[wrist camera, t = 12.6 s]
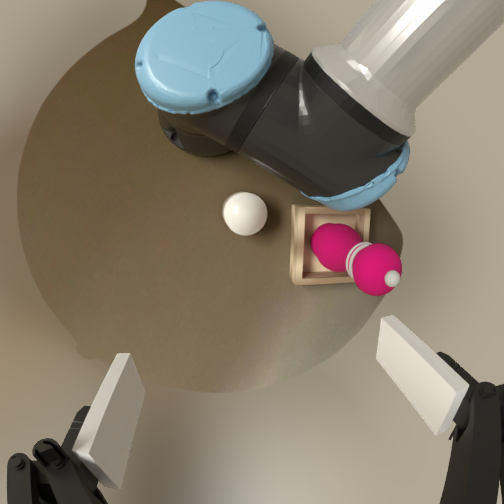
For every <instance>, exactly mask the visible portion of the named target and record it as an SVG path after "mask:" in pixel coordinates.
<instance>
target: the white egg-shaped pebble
mask: <svg viewBox="0 0 504 504" xmlns="http://www.w3.org/2000/svg"><path fill="white" fill-rule="evenodd" d="M222 216H223V219H224V221H225V222H226V224H227V225H228V226H229V228H230V229H231V230H232V231H233V232H235V233H237V234H240V235H252V234H254V233H256V232H258V231H259V230H260V229H261V228H262V227H263V226H264V224H265V222H266V219H267V208H266V205H265V203H264V202H263V200H262V199H261V198H260V197H258V196H256V195H254V194H251V193H248V192H244V191H239V192H235V193H233V194H231V195H230V196H228V197H227V199H226V200H225V201H224V203H223V206H222Z"/></svg>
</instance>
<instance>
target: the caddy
mask: <svg viewBox="0 0 504 504" xmlns="http://www.w3.org/2000/svg"><path fill="white" fill-rule="evenodd" d="M370 213H371V209H369V208H365V207H363V208H360V209H357V210H354V211H346V212H343V211H336V210H333V209H330V208H328V207H327V206H325V205H300V204H292V223H291V253H290V278H291V280H292V281H293V283H294V284H295V285H314V284H331V283H347V282H355V281H354V279H353V278H351V277H350V276H349V274H348V272H347V271H346V272H334V271H331V270H329V269H327V268H325V267H324V266H323V265H322V264H321V263H320V262H319V260H318V258H317V257H316V256H315V255H314V253H313V251H312V249H311V237H312V234H313V233H314V231H315V230H316V229H317V228H318V227H319V226H320V225H322V224H325V223H333V224H337V223H341V224H346V225H348V226H350V227H352V228H353V229H354V230H355V231H356V232H357V233H358V234H359V236H360V238H361V240H362V242H368V240H369V228H370Z"/></svg>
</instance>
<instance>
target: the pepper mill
mask: <svg viewBox="0 0 504 504" xmlns="http://www.w3.org/2000/svg"><path fill="white" fill-rule="evenodd" d="M311 249H312V251H313V253H314V255H315V256H316V257H317V258H318V260H319V262H320V263H321V264H322V265H323V266H324V267H325V268H327V269H329V270H331V271H334V272H346V271H347V272H348V274H349V276H350V277H351V278H353V279H354V281H355V283H356V285H357V287H358V288H359V289H360V290H362V291H363V292H365V293H366V294H369V295H372V296H381V295H384V294H387V293H388V292H390V291H391V290H393V288H394V287H395V286H397V285H398V284H399V282H400V279H401V278H400V277H401V273H402V264H401V260H400V258H399V256H398V254H397V253H396V252H395V250H393V249H392V248H391V247H389V246H388V245H385V244H381V243H375V244H372V243H370V242H362V240H361V238H360V236H359V234H358V233H357V232H356V231H355V230H354V229H353V228H352V227H350V226H348V225H346V224H341V223H337V224H333V223H325V224H322V225H320V226H319V227H318V228H317V229H316V230H315V231H314V233H313V234H312V237H311Z"/></svg>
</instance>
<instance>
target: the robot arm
mask: <svg viewBox="0 0 504 504" xmlns="http://www.w3.org/2000/svg"><path fill="white" fill-rule="evenodd" d="M503 23H504V0H376V1H375V2H374V3H373V4H372V5H371V7H370V8H369V9H368V10H367V11H366V13H365V14H364V15H363V16H362V17H361V19H360V20H359V21H358V22H357V23H356V25H355V26H354V27H353V28H352V29H351V31H350V32H349V33H348V35H347V36H346V37H345V38H344V39H343V41H342V42H340V43H339V44H337V45H327V46H318V47H315V48H314V49H313V50H312V52H311V53H310V55H309V56H308V57H307V59H306V60H305V61H304V60H302V59H299V58H298V57H296V56H295V55H293V54H291V53H290V52H288V51H286V50H284V49H283V48H281V47H279V46H277V45H275V44H274V42H273V39H272V36H271V34H270V32H269V31H268V30H267V28H266V24H265V22H264V21H263V20H262V19H261V18H260V17H259V16H258V15H257V14H255V13H254V12H253V11H251V10H249V9H248V8H246V7H243V6H241V5H238V4H234V3H230V2H224V1H204V2H198V3H194V4H193V5H192V6H189V7H185V8H178V9H176V10H174V11H172V12H170V13H169V14H167V15H166V16H164V17H163V18H161V19H160V20H159V21H158V22H156V23H155V24H154V25H153V26H152V27H151V28H150V30H149V31H148V32H147V33H146V35H145V36H144V38H143V39H142V41H141V43H140V45H139V48H138V50H137V54H136V59H135V70H136V76H137V79H138V82H139V84H140V86H141V89H142V92H143V93H144V95H145V97H147V99H148V101H149V102H150V103H152V104H153V105H154V106H155V107H157V108H158V116H159V121H160V125H161V127H162V130H163V132H164V133H165V135H166V136H167V138H168V139H169V140H170V141H171V142H172V143H173V144H175V145H176V146H177V147H178V148H180V149H181V150H183V151H185V152H187V153H190V154H193V155H198V156H216V155H221V154H224V153H227V152H229V151H231V150H234V151H235V152H238V154H240V155H241V156H243V157H245V158H247V159H248V160H250V161H252V162H254V163H255V164H257V165H259V166H260V167H262V168H264V169H265V170H267V171H269V172H270V173H272V174H274V175H275V176H277V177H279V178H280V179H282V180H284V181H285V182H287V183H288V184H290V185H292V186H293V187H295V188H296V189H298V190H299V191H300V192H301V193H302V194H303V195H304V196H306V197H309V198H310V199H313V200H317V201H318V202H320V203H322V204H323V205H325V206H327V207H328V208H330V209H333V210H336V211H343V212H346V211H354V210H357V209H360V208H363V207H365V206H367V205H369V204H371V203H373V202H375V201H376V200H378V199H379V198H380V197H382V196H383V195H384V194H385V193H386V192H387V191H389V190H390V189H391V188H392V186H393V185H394V184H395V183H396V181H397V179H396V176H397V175H398V174H401V173H403V171H404V170H405V168H406V165H407V163H408V160H409V154H410V147H409V143H408V141H407V140H408V139H409V138H410V137H411V136H412V135H413V134H414V133H415V110H416V107H417V106H419V105H420V104H421V103H422V102H423V101H424V100H425V99H426V98H427V97H428V96H429V95H430V94H431V93H432V92H433V91H434V90H435V89H436V88H437V87H438V86H439V85H440V84H441V83H442V82H444V80H446V79H447V78H448V77H449V76H450V75H451V74H452V73H453V72H454V71H455V70H456V69H457V68H458V67H459V66H460V65H461V64H462V63H463V62H464V61H465V60H466V59H467V58H468V57H469V56H470V55H471V54H472V53H473V52H474V51H475V50H476V49H477V48H478V47H479V46H480V45H481V44H483V42H485V41H486V40H487V39H488V38H489V37H490V36H491V35H492V33H494V32H495V31H496V30H497V29H498V28H499V27H500V26H501V25H502V24H503ZM239 149H240V150H239ZM376 359H377V361H378V362H379V363H380V364H381V366H382V367H383V368H384V369H385V371H386V372H387V373H388V374H389V376H390V377H391V378H392V379H393V381H394V382H395V383H396V385H397V386H398V387H399V389H400V390H401V391H402V392H403V394H404V395H405V396H406V398H407V399H408V400H409V401H410V403H411V404H412V405H413V406H414V408H415V409H416V411H417V412H418V413H419V414H420V416H421V417H422V418H423V420H424V421H425V422H426V424H427V425H428V426H429V428H430V429H431V430H432V432H433V433H434V434H435V436H437V435H439V434H440V433H442V432H444V431H446V430H448V429H449V427H450V425H451V423H452V421H454V422H455V423H456V426H455V428H454V430H453V432H452V433H451V435H450V437H449V440H451V438H452V437H453V443H452V451H451V457H450V462H449V467H448V472H447V476H446V481H445V485H444V489H443V493H442V497H441V501H440V504H496V503H497V496H498V488H499V479H500V485H501V494H502V504H504V384H502V385H499V386H495V385H494V384H492V383H490V382H481V383H478V382H477V381H476V380H475V379H474V378H473V377H472V376H471V375H470V374H469V373H468V372H466V371H465V370H464V369H463V368H462V367H460V365H459V364H458V363H455V361H454V360H453V359H452V358H451V357H450V356H449V355H447V354H444V353H442V352H438V353H435V352H434V351H433V350H432V349H431V348H429V347H428V346H427V345H426V344H425V343H424V342H423V341H421V339H420V338H418V337H417V336H416V335H415V334H414V333H413V332H412V331H411V330H409V329H408V328H407V327H406V326H405V325H404V324H403V323H402V322H400V321H399V320H398V319H397V318H396V317H395V316H393V315H390V316H386V317H383V318H381V324H380V333H379V340H378V348H377V354H376ZM145 393H146V392H145V389H144V387H143V385H142V382H141V380H140V377H139V375H138V372H137V369H136V367H135V364H134V362H133V359H132V356H131V353H117V355H116V357H115V359H114V361H113V363H112V365H111V367H110V369H109V371H108V373H107V375H106V377H105V379H104V381H103V383H102V385H101V387H100V389H99V391H98V393H97V395H96V398H95V399H94V402H93V403H92V406H91V407H90V406H84V407H83V408H82V409H81V410H80V411H78V412H77V414H76V416H75V418H74V420H73V421H74V422H73V423H72V425H71V427H70V429H69V431H68V433H67V435H66V437H65V439H64V442H63V444H62V446H61V447H60V445H59V444H58V443H57V442H56V441H55V440H53V439H49V438H46V439H42V440H40V441H38V442H37V443H36V444H35V445H34V448H33V456H34V457H35V458H36V459H37V460H38V461H31V460H30V459H29V458H28V456H27V455H25V454H23V453H17V454H14V455H13V456H11V458H10V459H9V461H8V465H7V502H8V504H108V503H107V501H106V500H105V498H104V496H103V495H102V493H101V492H100V490H99V489H98V488H97V484H98V481H99V482H100V483H101V484H102V485H103V486H104V487H107V488H113V489H119V490H120V489H121V486H122V481H123V477H124V472H125V468H126V464H127V460H128V456H129V452H130V448H131V444H132V440H133V436H134V433H135V428H136V425H137V421H138V417H139V414H140V410H141V407H142V404H143V400H144V397H145ZM453 435H454V436H453Z"/></svg>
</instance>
